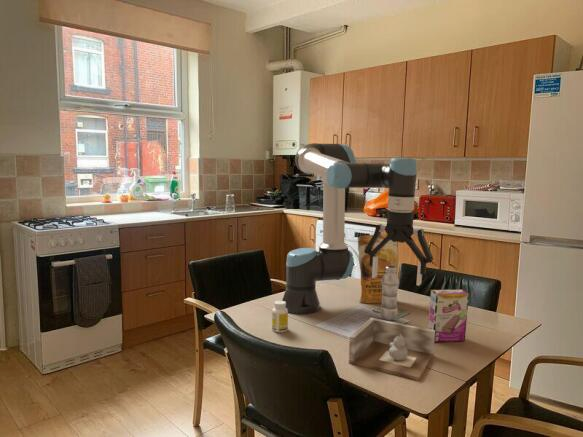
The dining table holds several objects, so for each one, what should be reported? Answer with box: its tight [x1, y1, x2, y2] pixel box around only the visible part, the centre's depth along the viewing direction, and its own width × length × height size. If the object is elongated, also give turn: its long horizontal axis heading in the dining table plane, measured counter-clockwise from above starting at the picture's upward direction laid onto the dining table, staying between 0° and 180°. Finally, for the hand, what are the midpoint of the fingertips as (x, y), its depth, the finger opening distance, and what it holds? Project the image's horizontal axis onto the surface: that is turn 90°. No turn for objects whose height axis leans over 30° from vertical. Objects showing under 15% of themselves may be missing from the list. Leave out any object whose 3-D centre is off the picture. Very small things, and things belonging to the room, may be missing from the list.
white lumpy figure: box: [389, 334, 408, 361], centre depth 126 cm, size 5×7×8 cm
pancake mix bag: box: [357, 234, 399, 304], centre depth 182 cm, size 7×19×28 cm, turn 103°
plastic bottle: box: [379, 266, 400, 322], centre depth 160 cm, size 6×7×20 cm
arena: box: [348, 317, 435, 382], centre depth 128 cm, size 20×18×8 cm
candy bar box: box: [427, 289, 470, 343], centre depth 143 cm, size 11×5×16 cm, turn 97°
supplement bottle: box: [271, 300, 289, 333], centre depth 149 cm, size 5×5×10 cm
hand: (396, 280), depth 131 cm, fingers open, 13 cm apart
